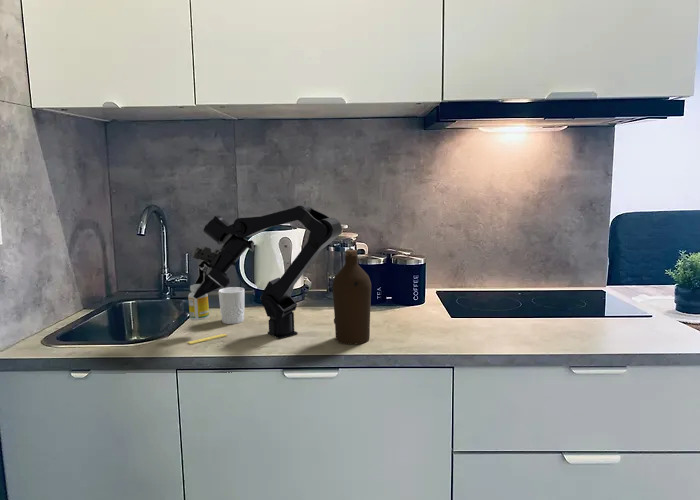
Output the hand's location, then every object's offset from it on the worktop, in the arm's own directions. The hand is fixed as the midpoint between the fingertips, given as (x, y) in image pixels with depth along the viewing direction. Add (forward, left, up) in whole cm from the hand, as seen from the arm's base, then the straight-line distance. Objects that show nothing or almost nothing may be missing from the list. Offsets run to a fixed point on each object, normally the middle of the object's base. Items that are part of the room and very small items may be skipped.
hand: (193, 295), depth 150 cm
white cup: (-15, -6, -12) cm, 20 cm away
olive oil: (-31, +33, -12) cm, 47 cm away
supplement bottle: (-1, 0, -7) cm, 7 cm away
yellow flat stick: (-1, +5, -12) cm, 13 cm away
